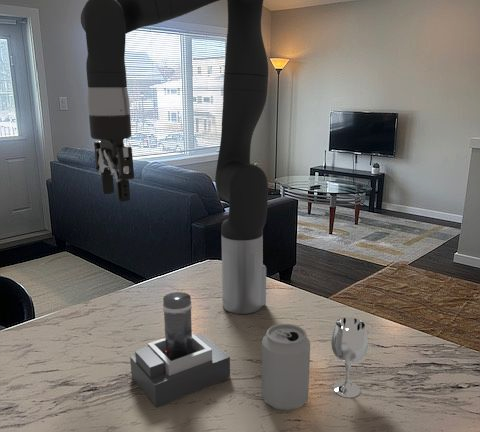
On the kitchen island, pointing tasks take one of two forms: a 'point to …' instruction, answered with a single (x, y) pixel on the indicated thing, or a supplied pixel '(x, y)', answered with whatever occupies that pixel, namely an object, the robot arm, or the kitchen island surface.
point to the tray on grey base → (178, 369)
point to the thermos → (177, 325)
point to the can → (285, 366)
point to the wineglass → (348, 350)
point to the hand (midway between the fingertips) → (115, 197)
